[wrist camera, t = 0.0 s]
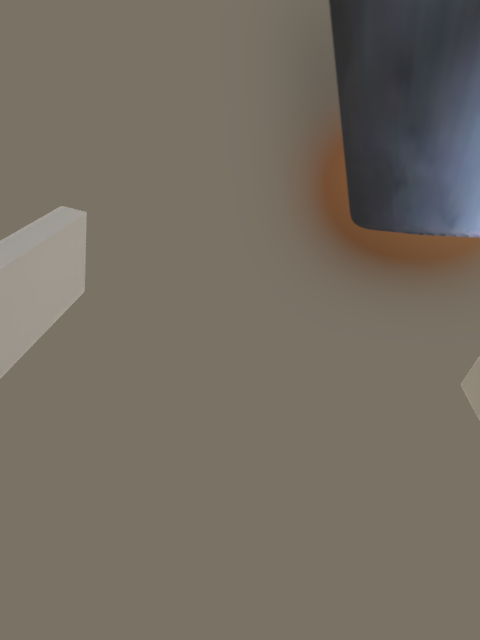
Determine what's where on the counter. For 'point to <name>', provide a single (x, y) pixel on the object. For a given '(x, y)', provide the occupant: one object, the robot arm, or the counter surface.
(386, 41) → the counter surface
